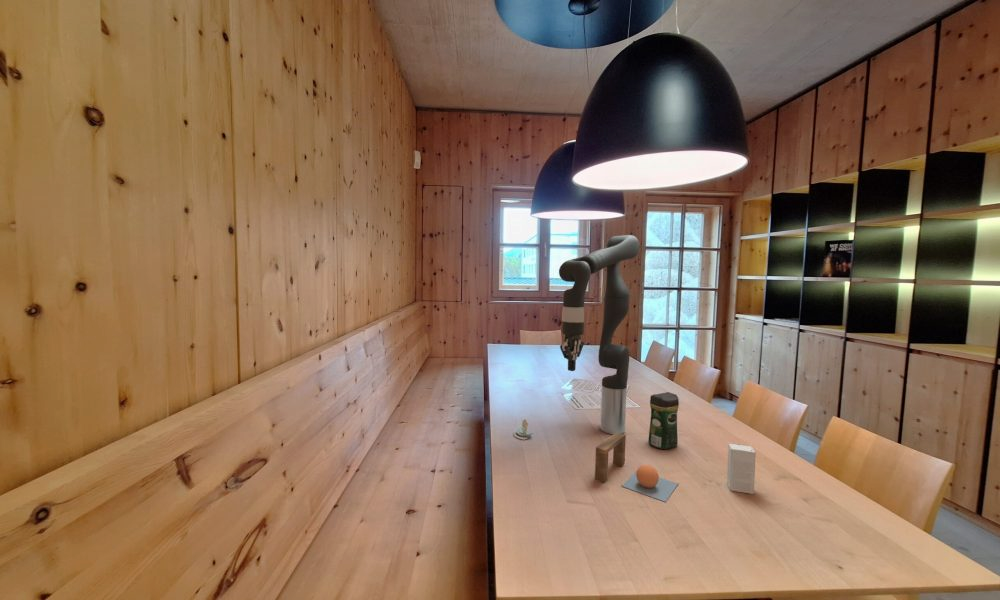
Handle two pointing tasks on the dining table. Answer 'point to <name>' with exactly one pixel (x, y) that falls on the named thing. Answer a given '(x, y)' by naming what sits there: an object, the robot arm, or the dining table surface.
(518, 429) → the pacifier
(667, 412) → the coffee jar
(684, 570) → the dining table surface
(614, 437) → the bridge
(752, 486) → the skincare box
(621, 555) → the dining table surface
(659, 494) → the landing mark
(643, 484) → the ball
